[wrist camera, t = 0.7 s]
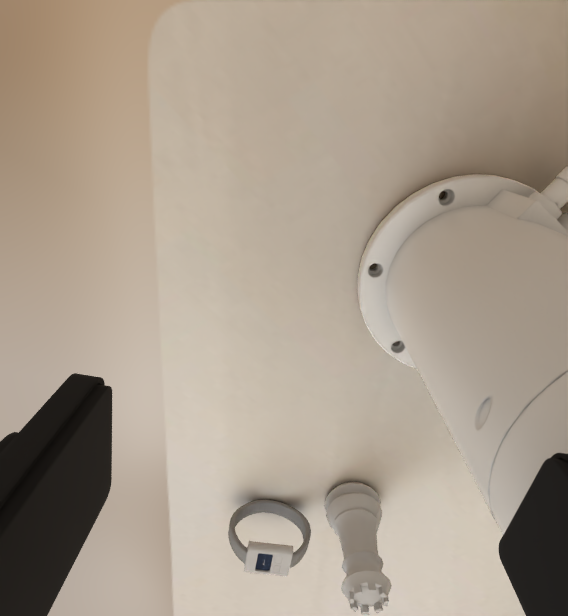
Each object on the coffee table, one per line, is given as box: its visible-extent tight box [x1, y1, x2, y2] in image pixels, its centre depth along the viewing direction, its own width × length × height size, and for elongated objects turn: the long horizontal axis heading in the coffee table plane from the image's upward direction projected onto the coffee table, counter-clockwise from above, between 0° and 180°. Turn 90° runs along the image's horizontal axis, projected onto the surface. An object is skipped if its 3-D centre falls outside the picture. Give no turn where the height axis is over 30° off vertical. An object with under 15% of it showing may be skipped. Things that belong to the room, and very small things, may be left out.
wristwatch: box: [228, 500, 311, 576], centre depth 32 cm, size 6×3×5 cm, turn 81°
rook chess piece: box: [324, 482, 391, 615], centre depth 31 cm, size 4×4×8 cm
